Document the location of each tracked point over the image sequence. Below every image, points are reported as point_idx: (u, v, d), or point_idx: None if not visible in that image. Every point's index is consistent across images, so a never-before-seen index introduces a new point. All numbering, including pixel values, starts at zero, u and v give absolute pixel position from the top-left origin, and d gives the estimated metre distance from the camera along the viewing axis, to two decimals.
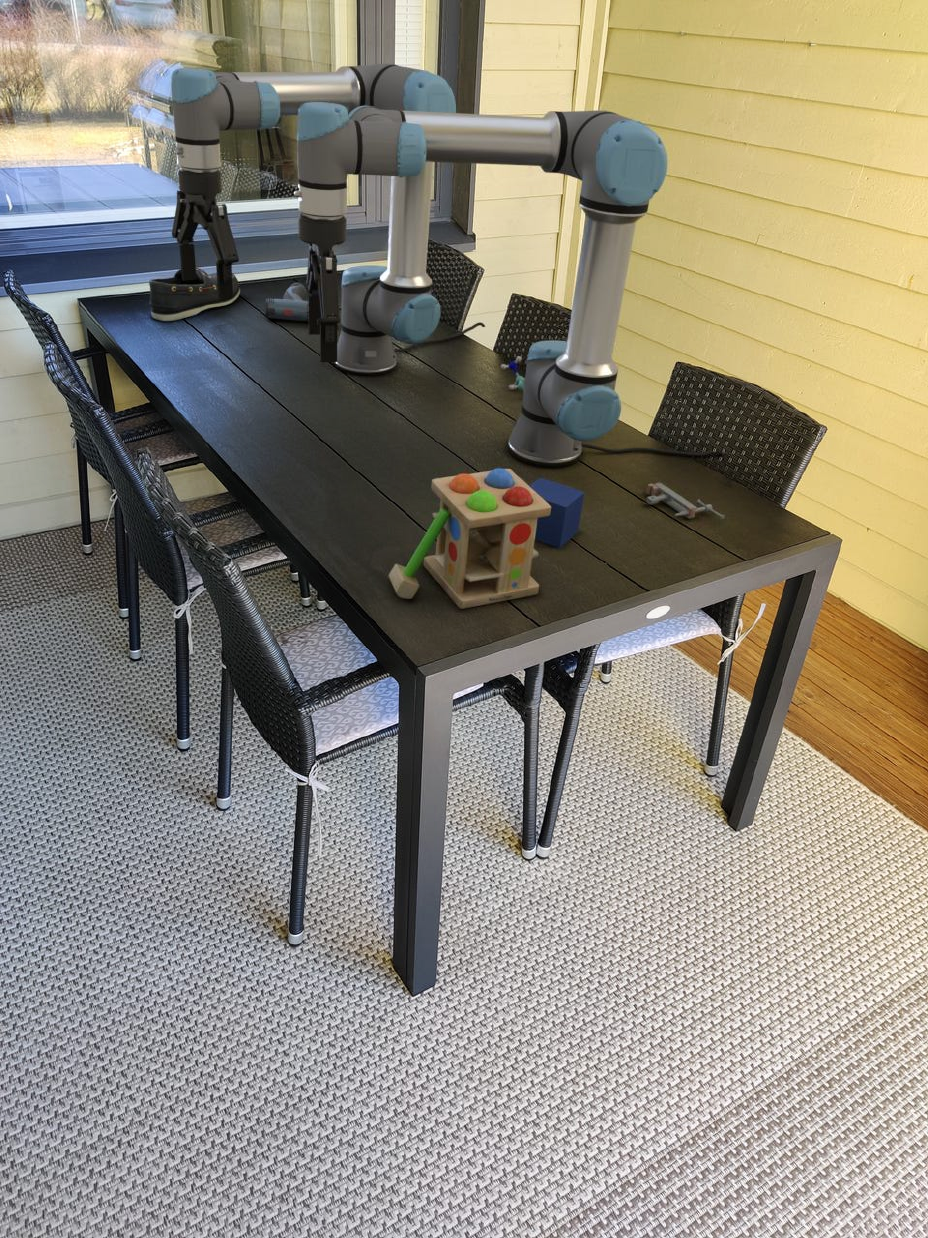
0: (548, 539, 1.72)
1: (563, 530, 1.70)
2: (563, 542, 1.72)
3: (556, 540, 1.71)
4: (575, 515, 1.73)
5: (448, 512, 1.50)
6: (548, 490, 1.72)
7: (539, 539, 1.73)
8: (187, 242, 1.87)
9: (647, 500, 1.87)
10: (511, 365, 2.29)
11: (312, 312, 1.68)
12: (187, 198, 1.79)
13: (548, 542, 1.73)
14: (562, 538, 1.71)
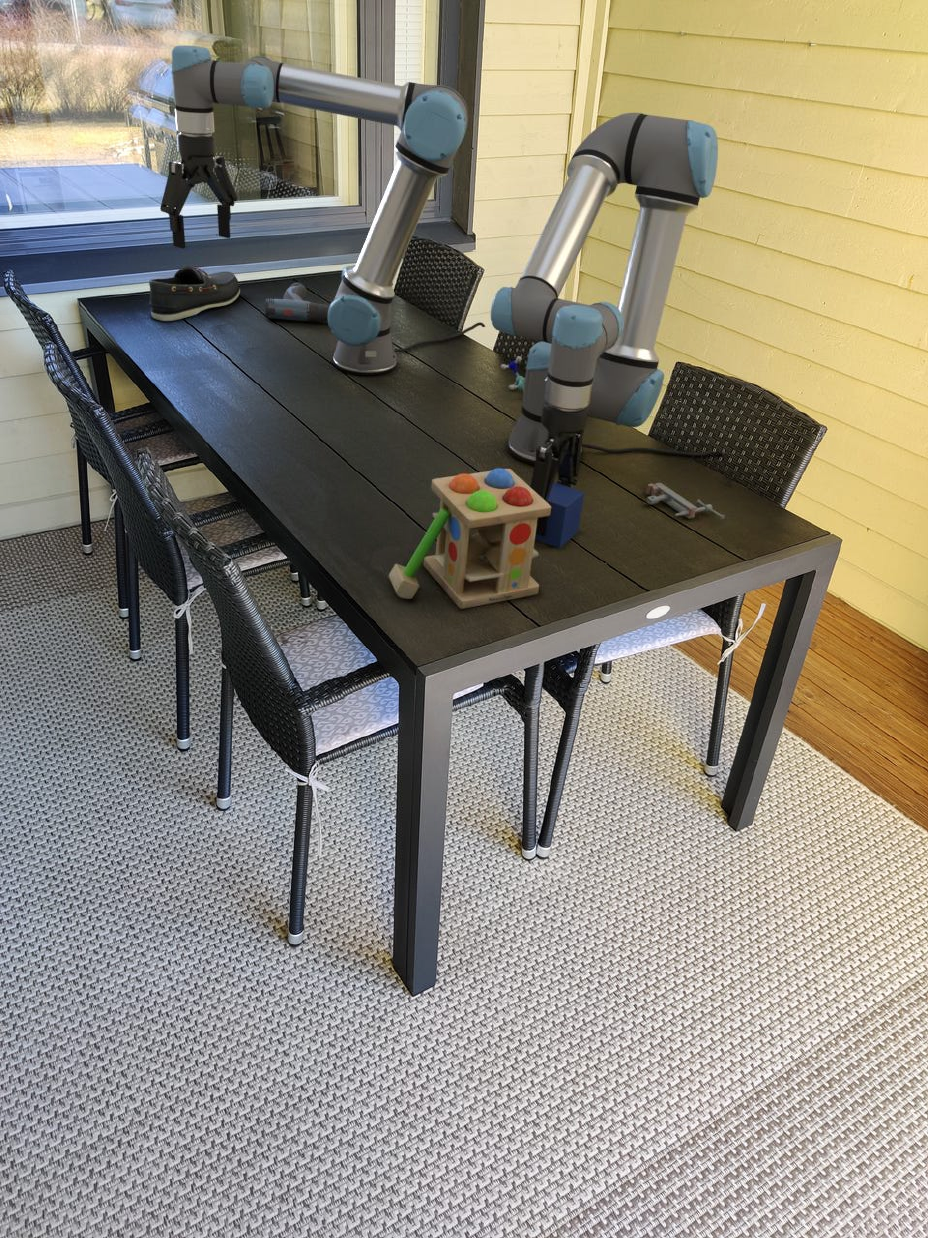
0: (548, 539, 1.72)
1: (563, 530, 1.70)
2: (563, 542, 1.72)
3: (556, 540, 1.71)
4: (575, 515, 1.73)
5: (448, 512, 1.50)
6: None
7: (539, 539, 1.73)
8: (225, 204, 2.13)
9: (647, 500, 1.87)
10: (511, 365, 2.29)
11: None
12: None
13: (548, 542, 1.73)
14: (562, 538, 1.71)
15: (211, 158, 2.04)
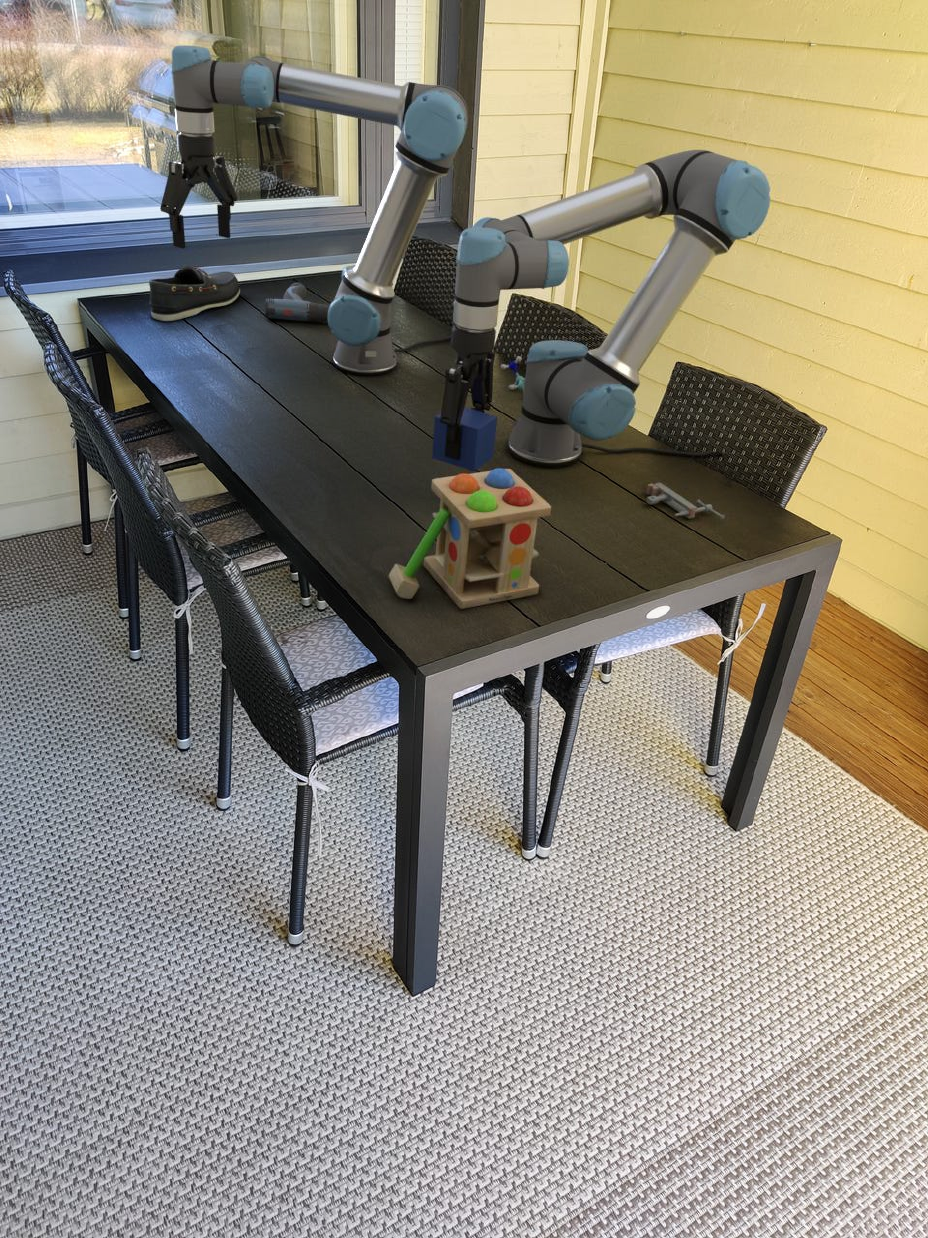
0: (463, 463, 1.76)
1: (476, 453, 1.74)
2: (477, 466, 1.76)
3: (470, 463, 1.75)
4: (489, 439, 1.77)
5: (448, 512, 1.50)
6: (462, 415, 1.76)
7: (454, 463, 1.77)
8: (225, 204, 2.13)
9: (647, 500, 1.87)
10: (511, 365, 2.29)
11: None
12: None
13: (463, 466, 1.76)
14: (476, 461, 1.75)
15: (211, 158, 2.04)
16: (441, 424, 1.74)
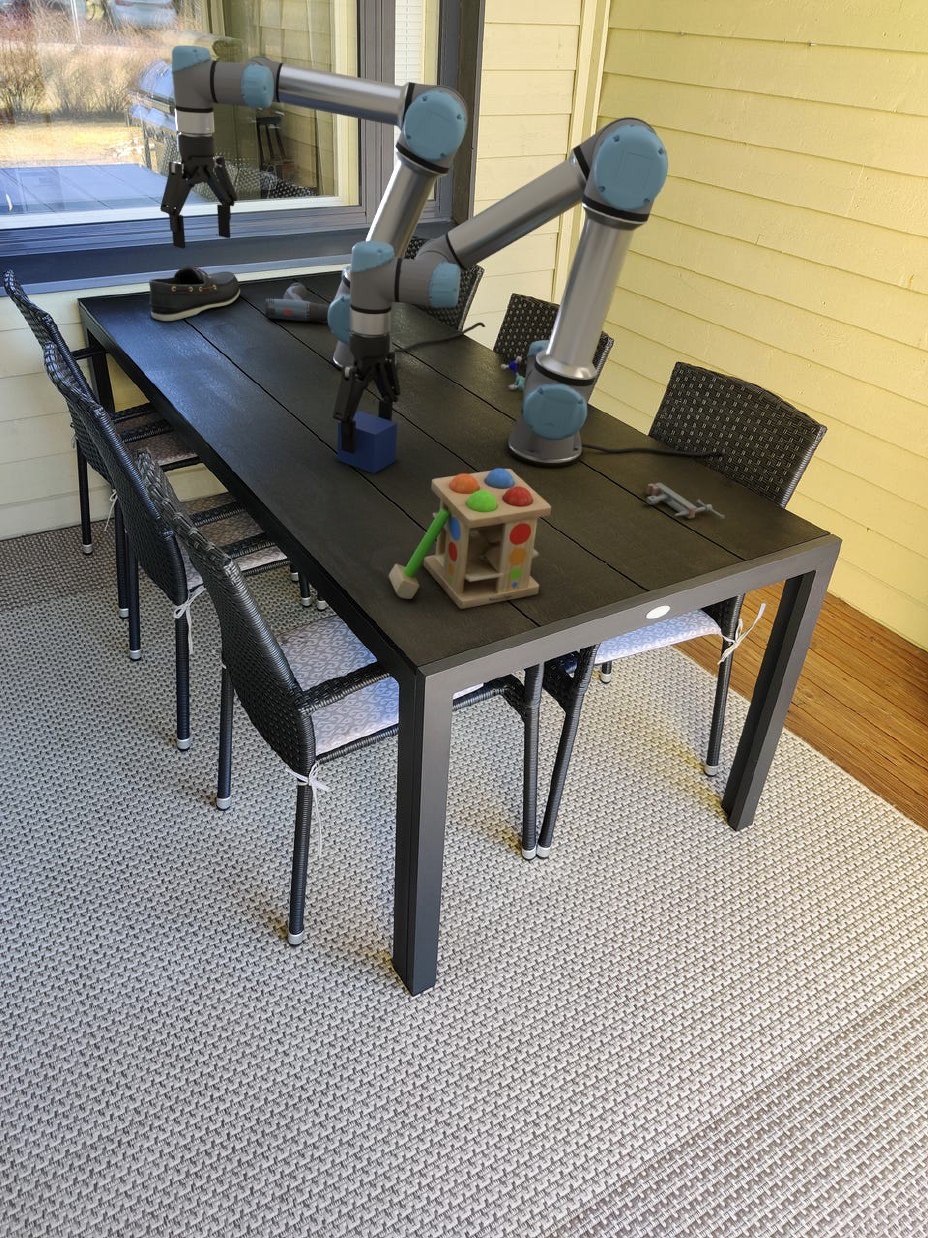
0: (364, 465, 1.90)
1: (375, 456, 1.88)
2: (377, 468, 1.91)
3: (370, 466, 1.89)
4: (388, 444, 1.91)
5: (448, 512, 1.50)
6: (364, 421, 1.90)
7: (356, 466, 1.91)
8: (225, 204, 2.13)
9: (647, 500, 1.87)
10: (511, 365, 2.29)
11: (380, 413, 1.94)
12: None
13: (364, 468, 1.91)
14: (375, 464, 1.89)
15: (211, 158, 2.04)
16: None
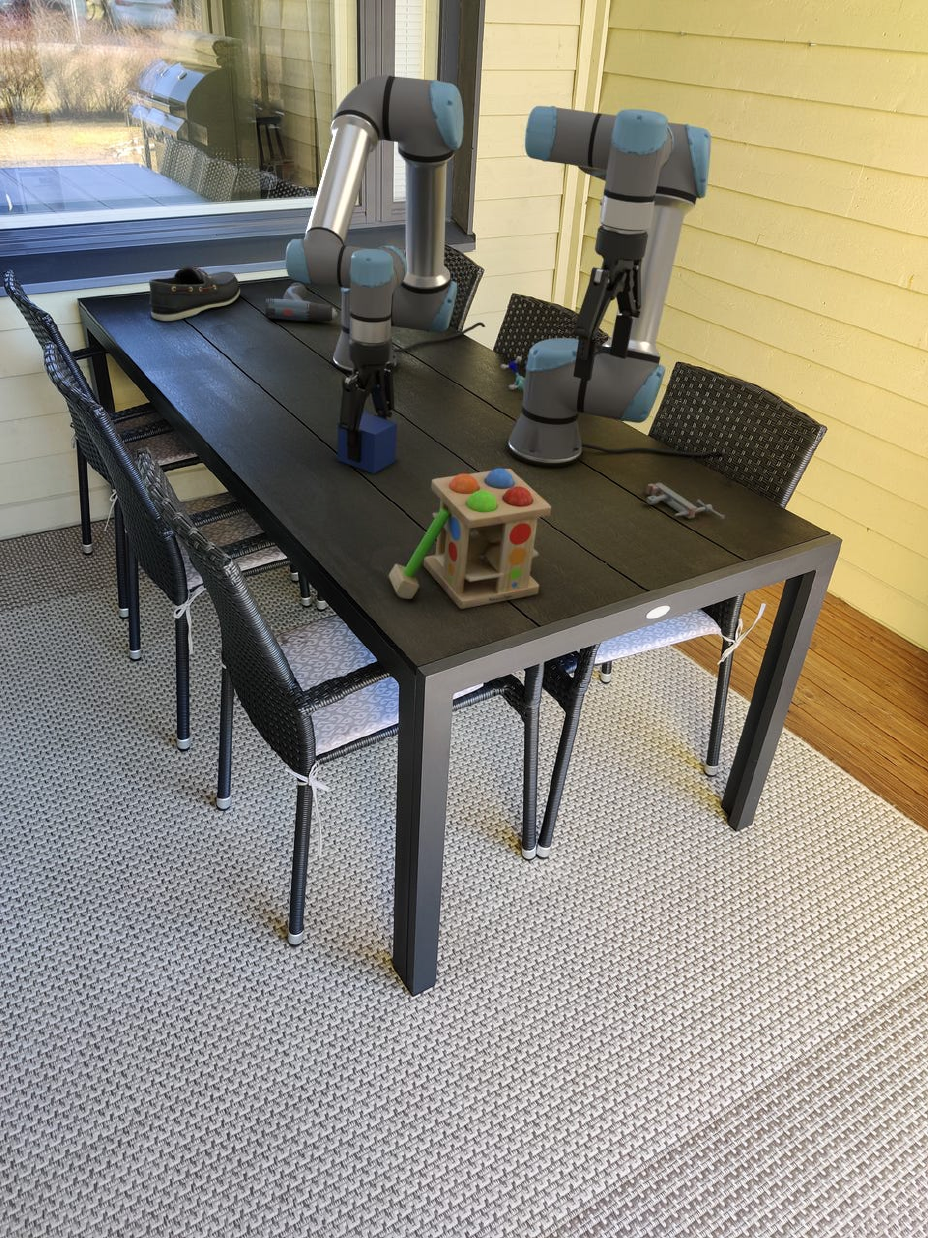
0: (364, 465, 1.90)
1: (375, 456, 1.88)
2: (377, 468, 1.91)
3: (370, 466, 1.89)
4: (388, 444, 1.91)
5: (448, 512, 1.50)
6: (364, 421, 1.90)
7: (356, 466, 1.91)
8: (381, 414, 1.92)
9: (647, 500, 1.87)
10: (511, 365, 2.29)
11: (616, 332, 1.60)
12: None
13: (364, 468, 1.91)
14: (375, 464, 1.89)
15: None
16: (343, 429, 1.89)
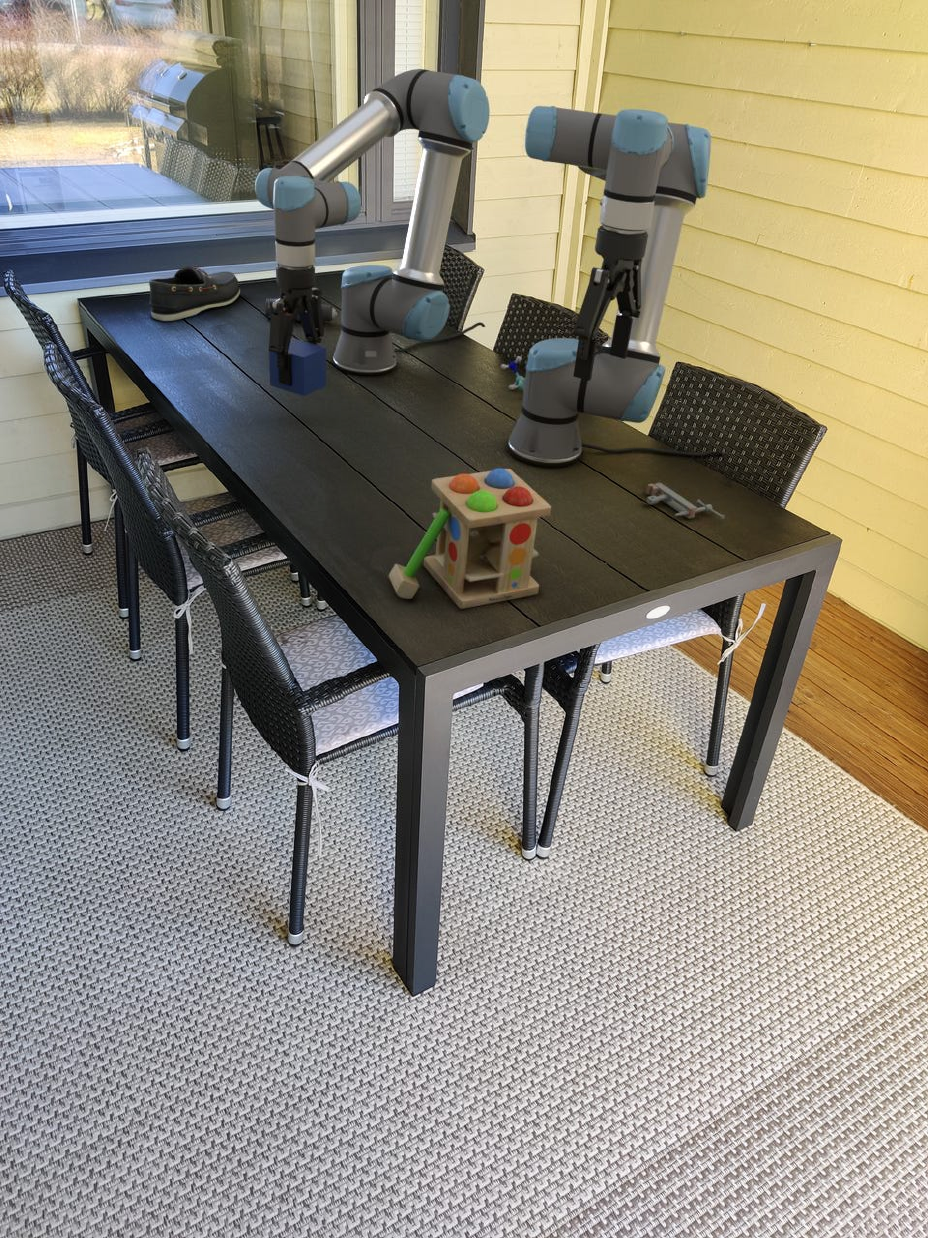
0: (295, 388, 1.99)
1: (305, 379, 1.97)
2: (308, 391, 1.99)
3: (301, 389, 1.98)
4: (318, 368, 2.00)
5: (448, 512, 1.50)
6: (294, 346, 1.99)
7: (288, 389, 2.00)
8: (311, 339, 2.01)
9: (647, 500, 1.87)
10: (511, 365, 2.29)
11: (616, 332, 1.60)
12: None
13: (295, 391, 1.99)
14: (306, 387, 1.98)
15: (309, 287, 1.94)
16: (274, 354, 1.98)
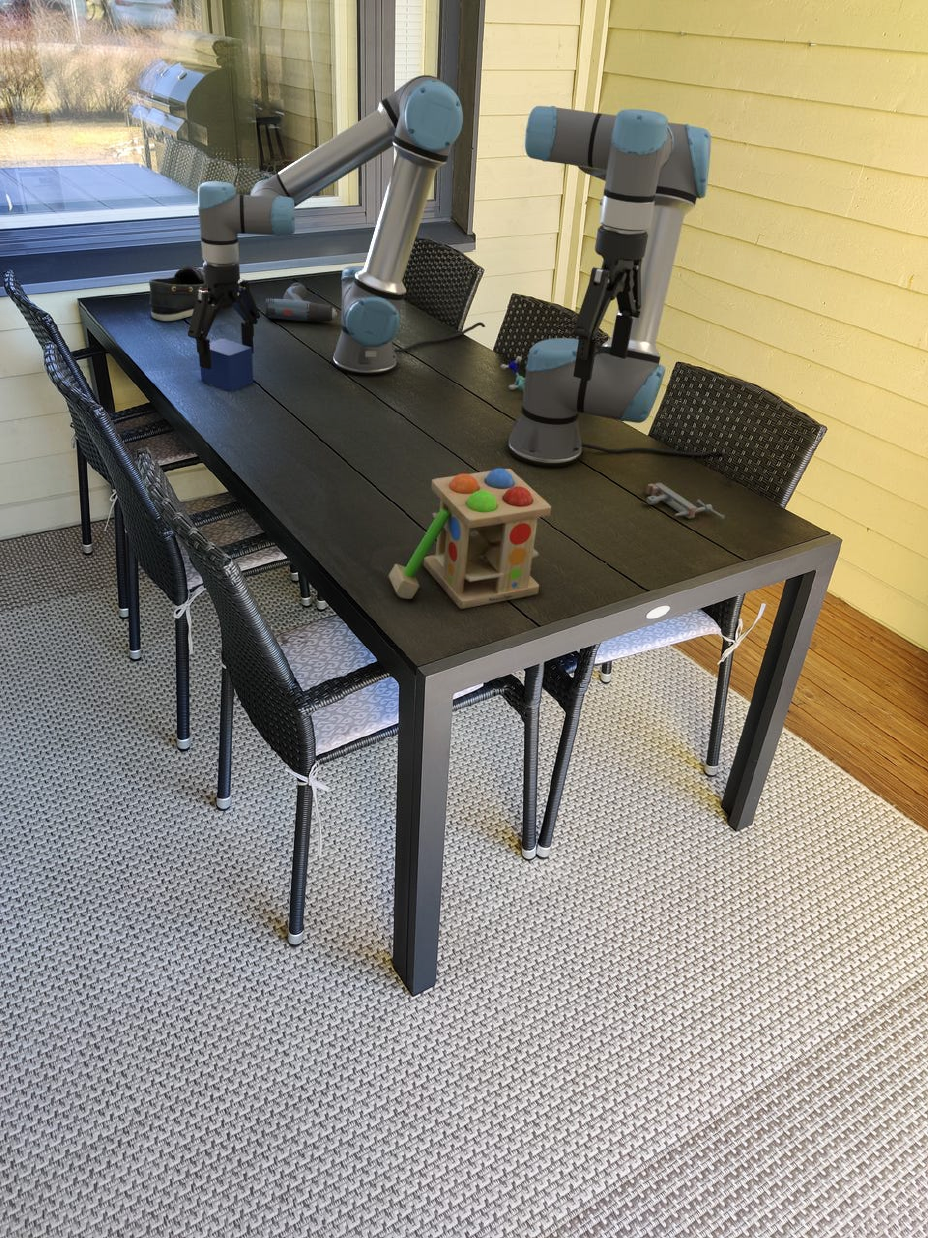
0: (223, 384, 2.18)
1: (231, 376, 2.16)
2: (235, 387, 2.18)
3: (228, 384, 2.17)
4: (245, 366, 2.19)
5: (448, 512, 1.50)
6: (222, 345, 2.18)
7: (217, 385, 2.19)
8: (248, 322, 2.20)
9: (647, 500, 1.87)
10: (511, 365, 2.29)
11: (616, 332, 1.60)
12: None
13: (223, 387, 2.18)
14: (232, 383, 2.17)
15: (236, 283, 2.12)
16: None
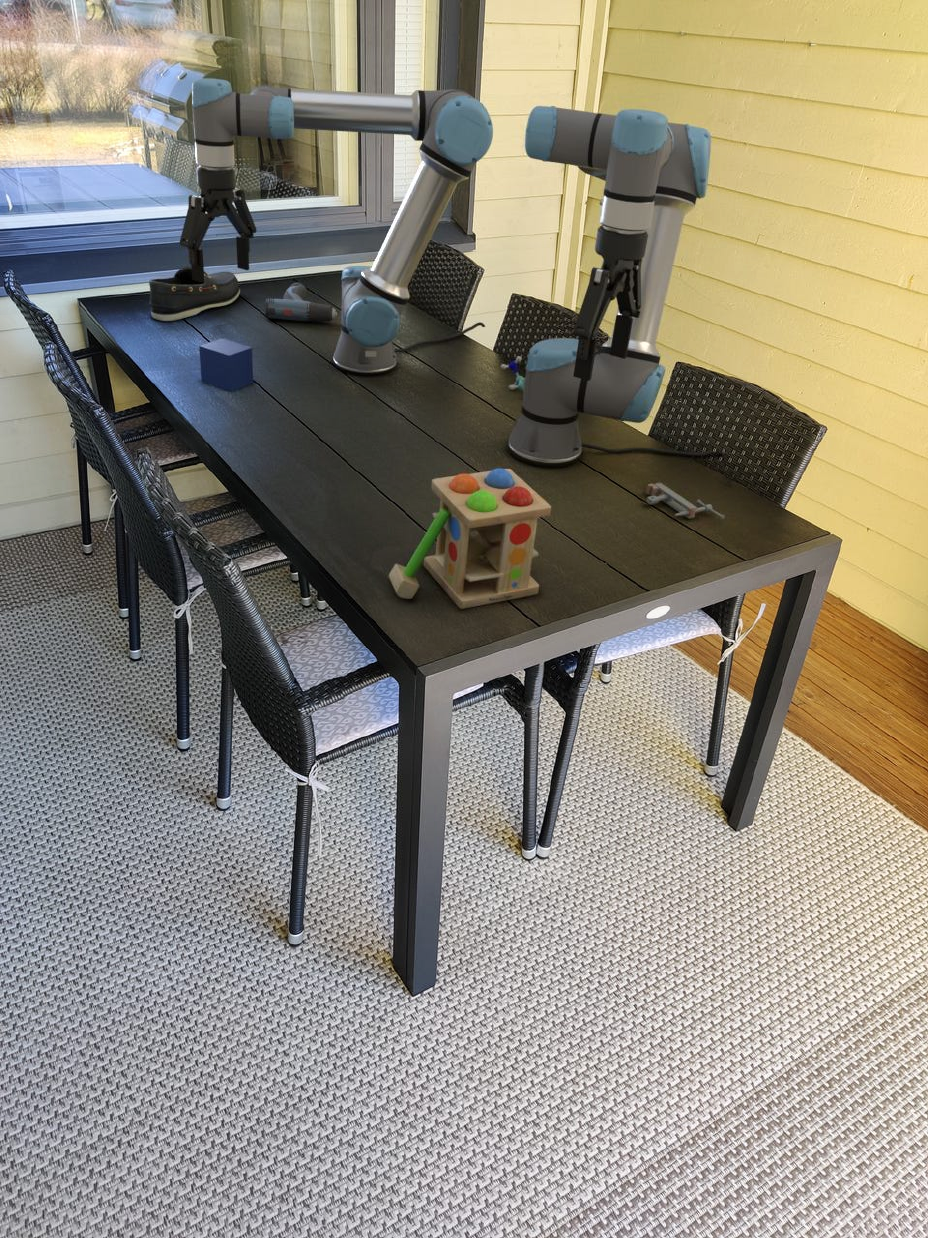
0: (223, 384, 2.18)
1: (231, 376, 2.16)
2: (235, 387, 2.18)
3: (228, 384, 2.17)
4: (245, 366, 2.19)
5: (448, 512, 1.50)
6: (222, 345, 2.18)
7: (217, 385, 2.19)
8: (244, 236, 2.10)
9: (647, 500, 1.87)
10: (511, 365, 2.29)
11: (616, 332, 1.60)
12: None
13: (223, 387, 2.18)
14: (232, 383, 2.17)
15: (231, 191, 2.01)
16: (204, 352, 2.17)
